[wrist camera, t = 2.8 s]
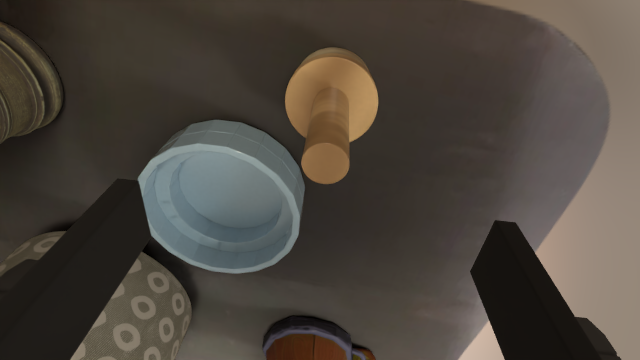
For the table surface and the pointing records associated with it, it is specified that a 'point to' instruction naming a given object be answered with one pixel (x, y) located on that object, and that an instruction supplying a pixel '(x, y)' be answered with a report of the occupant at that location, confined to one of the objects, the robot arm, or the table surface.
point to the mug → (310, 341)
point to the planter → (128, 309)
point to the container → (25, 85)
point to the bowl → (224, 197)
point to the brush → (330, 109)
